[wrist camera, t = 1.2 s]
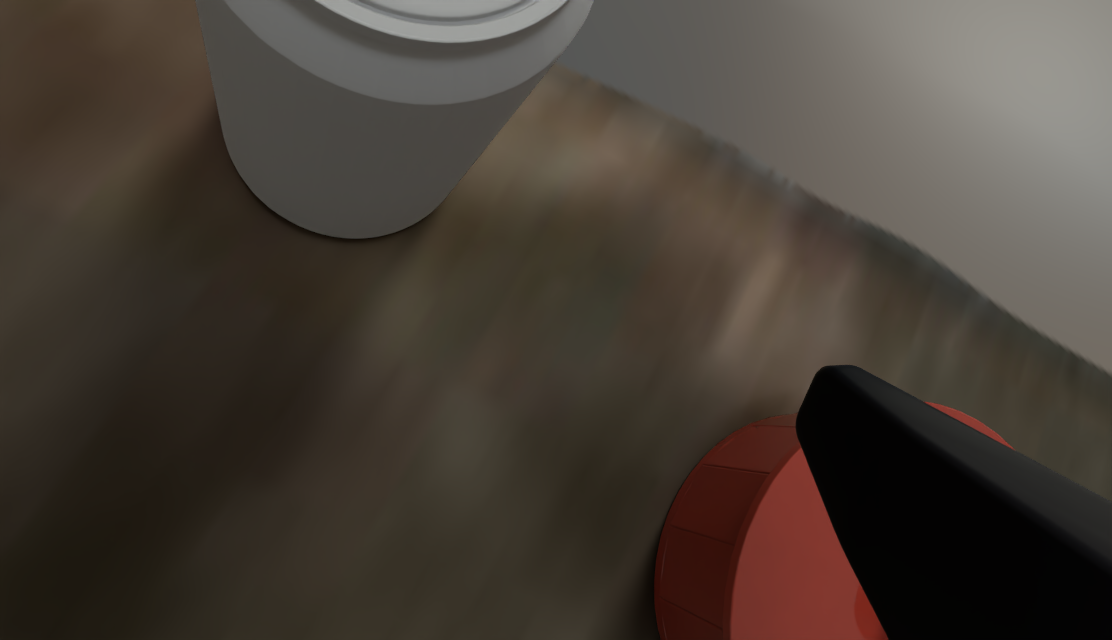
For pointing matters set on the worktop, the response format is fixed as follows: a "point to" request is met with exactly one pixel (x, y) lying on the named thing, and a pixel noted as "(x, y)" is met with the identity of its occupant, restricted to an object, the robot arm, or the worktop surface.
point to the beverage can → (372, 97)
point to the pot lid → (798, 563)
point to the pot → (712, 527)
